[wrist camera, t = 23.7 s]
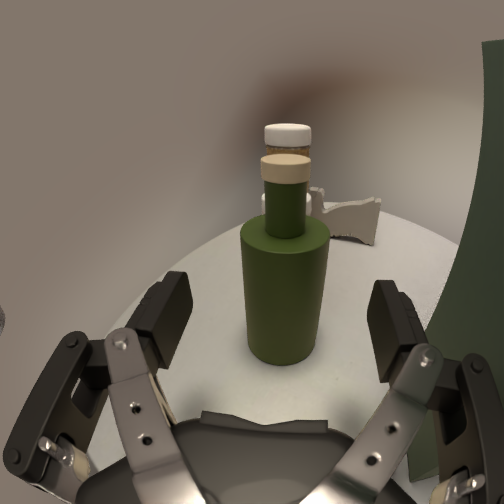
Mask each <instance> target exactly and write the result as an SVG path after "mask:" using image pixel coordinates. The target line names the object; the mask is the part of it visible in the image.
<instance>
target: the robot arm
mask: <svg viewBox="0 0 504 504" xmlns="http://www.w3.org/2000/svg"><path fill="white" fill-rule="evenodd" d="M192 308H193V299H192V294H191V289H190V285H189V280H188V275H187V273H186V272H178V271H169V272H168V273H167V274H166V276H165V277H164V279H163V280H162V282H156V283H155V284H154V285H153V286H151V287H150V288H149V289H148V291H147V292H146V294H145V295H144V298H142V300H141V302H140V305H138V306H137V308H136V310H135V311H134V313H133V314H132V316H131V318H130V319H129V321H128V323H127V324H126V326H125V327H124V328H118V329H116V330H114V331H112V332H111V333H110V334H108V336H107V337H106V339H102V340H88V338H87V336H86V335H85V333H83V332H81V331H74V332H71V333H69V334H67V335H66V336H64V337H63V338H62V340H61V341H60V343H59V344H58V346H57V348H56V349H55V351H54V353H53V354H52V356H51V358H50V359H49V361H48V362H47V364H46V366H45V368H44V370H43V371H42V373H41V375H40V376H39V378H38V380H37V382H36V383H35V385H34V387H33V389H32V391H31V393H30V395H29V397H28V398H27V400H26V403H25V404H24V406H23V409H22V410H21V412H20V415H19V417H18V419H17V421H16V423H15V425H14V427H13V430H12V432H11V434H10V436H9V439H8V441H7V443H6V446H5V448H4V451H3V462H4V465H5V467H6V469H7V470H8V471H9V472H10V473H12V474H13V475H15V476H17V477H19V478H20V479H22V480H24V481H25V482H26V483H28V484H30V485H32V486H34V487H36V488H38V489H40V490H42V491H44V492H47V493H50V494H51V495H53V496H55V497H57V498H58V499H60V500H61V501H63V502H65V503H67V504H417V503H416V502H415V501H414V500H413V499H412V498H411V497H410V496H409V495H408V494H407V493H406V492H405V491H404V490H403V489H402V488H401V487H400V486H399V485H398V484H397V483H396V482H395V481H394V480H393V479H392V478H391V476H392V474H393V473H394V471H395V470H396V468H397V466H398V465H399V463H400V462H401V460H402V458H403V457H404V455H405V453H406V452H407V450H408V448H409V446H410V445H411V443H412V441H413V439H414V437H415V436H416V434H417V432H418V430H419V428H420V426H421V424H422V422H423V420H424V418H425V416H426V414H427V411H428V410H432V414H433V420H434V427H435V435H436V443H437V452H438V464H439V480H440V483H439V484H438V485H437V486H436V487H435V488H434V490H433V492H432V494H431V498H430V500H429V504H504V411H503V407H502V403H501V400H500V396H499V393H498V390H497V387H496V384H495V381H494V378H493V375H492V372H491V369H490V366H489V364H488V362H487V361H486V359H485V358H484V357H482V356H481V355H479V354H476V353H469V354H467V355H466V356H465V357H464V358H463V360H462V361H456V360H450V359H446V358H443V355H442V353H441V352H440V350H439V349H438V348H436V347H435V346H433V345H431V344H429V343H428V340H427V337H426V335H425V332H424V329H423V327H422V324H421V322H420V319H419V318H418V315H417V312H416V311H415V307H414V305H413V303H412V300H411V299H410V298H409V297H408V296H407V295H406V294H405V293H404V292H398V289H397V287H396V285H395V282H394V281H393V280H376V281H375V283H374V287H373V291H372V294H371V298H370V302H369V305H368V309H367V322H368V326H369V331H370V335H371V340H372V344H373V349H374V354H375V359H376V364H377V369H378V375H379V380H380V383H387V382H389V385H390V389H389V390H388V392H387V394H386V395H385V397H384V398H383V400H382V402H381V403H380V405H379V406H378V408H377V409H376V411H375V412H374V414H373V415H372V417H371V418H370V419H369V421H368V422H367V424H366V425H365V427H364V428H363V429H362V431H361V432H360V433H359V435H358V436H357V437H356V439H355V440H354V439H352V438H351V437H350V436H348V435H346V434H345V433H342V432H340V431H338V430H335V429H331V428H328V420H294V421H288V422H282V423H276V424H270V425H260V424H257V423H254V422H251V421H248V420H245V419H242V418H239V417H237V416H234V415H229V414H221V413H214V412H208V411H202V414H201V418H196V419H190V420H186V421H183V422H180V423H177V421H176V419H175V417H174V415H173V413H172V411H171V409H170V407H169V404H168V402H167V400H166V397H165V395H164V392H163V390H162V388H161V385H160V382H159V380H158V377H157V375H156V373H157V371H158V368H162V369H167V370H168V368H169V366H170V363H171V361H172V358H173V356H174V354H175V351H176V349H177V346H178V344H179V341H180V339H181V337H182V334H183V332H184V329H185V327H186V325H187V322H188V320H189V317H190V315H191V313H192ZM78 378H80V379H81V380H80V383H79V384H78V387H77V388H76V391H75V393H74V395H73V397H72V399H71V393H72V391H73V388H74V386H75V384H76V382H77V380H78ZM108 395H109V397H110V401H111V405H112V409H113V413H114V417H115V421H116V424H117V428H118V431H119V435H120V438H121V441H122V444H123V447H124V450H125V453H126V456H125V457H124V458H122V459H121V460H119V461H117V462H116V463H114V464H112V465H110V466H109V467H107V468H105V469H104V470H102V471H100V472H98V473H96V474H95V475H93V476H91V477H88V475H89V474H90V472H91V469H90V467H89V461H88V458H87V456H86V452H87V449H88V446H89V444H90V441H91V438H92V435H93V433H94V430H95V427H96V425H97V422H98V420H99V417H100V415H101V412H102V410H103V407H104V405H105V402H106V400H107V397H108Z"/></svg>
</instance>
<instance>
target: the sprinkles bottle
mask: <svg viewBox="0 0 504 504" xmlns="http://www.w3.org/2000/svg"><path fill="white" fill-rule="evenodd" d="M265 143H266V144H267V145H266V148H267V156H268V155H274V154H295V155H301V156H305V157H308V158H309V148H310V146H309V145H310V144H311V128H310V127H309V126H306V125H300V124H274V125H268V126H266V127H265ZM308 188H309V180H308V181H307V193H308V194H309V191H308Z"/></svg>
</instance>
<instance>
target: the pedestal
mask: <svg viewBox="0 0 504 504" xmlns="http://www.w3.org/2000/svg"><path fill="white" fill-rule="evenodd" d="M482 52H483V69H484V111H483V112H484V113H483V127H482V139H481V148H480V156H479V162H478V169H477V175H476V180H475V186H474V191H473V195H472V200H471V204H470V209H469V213H468V217H467V221H466V224H465V228H464V231H463V235H462V238H461V242H460V245H459V248H458V251H457V254H456V257H455V260H454V263H453V266H452V269H451V271H450V274H449V277H448V279H447V282H446V285H445V287H444V290H443V292H442V295H441V297H440V299H439V302H438V304H437V306H436V309H435V311H434V313H433V315H432V317H431V320H430V322H429V324H428V326H427V328H426V330H425V335H426V337H427V340H428V343H429V344H431V345H433V346H435V347H436V348H438V349H439V350H440V352H441V353H442V355H443V358H446V359H450V360H456V361H462V360H463V358H464V357H465V356H466V355H467V354H469V353H476V354H479V355H481V356H482V357H484V358H485V359H486V361H487V362H488V364H489V366H490V369H491V372H492V375H493V378H494V381H495V384H496V387H497V390H498V393H499V396H500V400H501V403H502V407H503V411H504V39H503V40H494V41H486V42H482ZM407 454H408V464H409V475H410V482H413V481H417V480H421V479H425V478H429V477H432V476H436V475H439V464H438V452H437V443H436V435H435V427H434V420H433V414H432V410H428V411H427V414H426V416H425V418H424V420H423V422H422V424H421V426H420V428H419V430H418V432H417V434H416V436H415V437H414V439H413V441H412V443H411V445H410V446H409V448H408V450H407Z"/></svg>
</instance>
